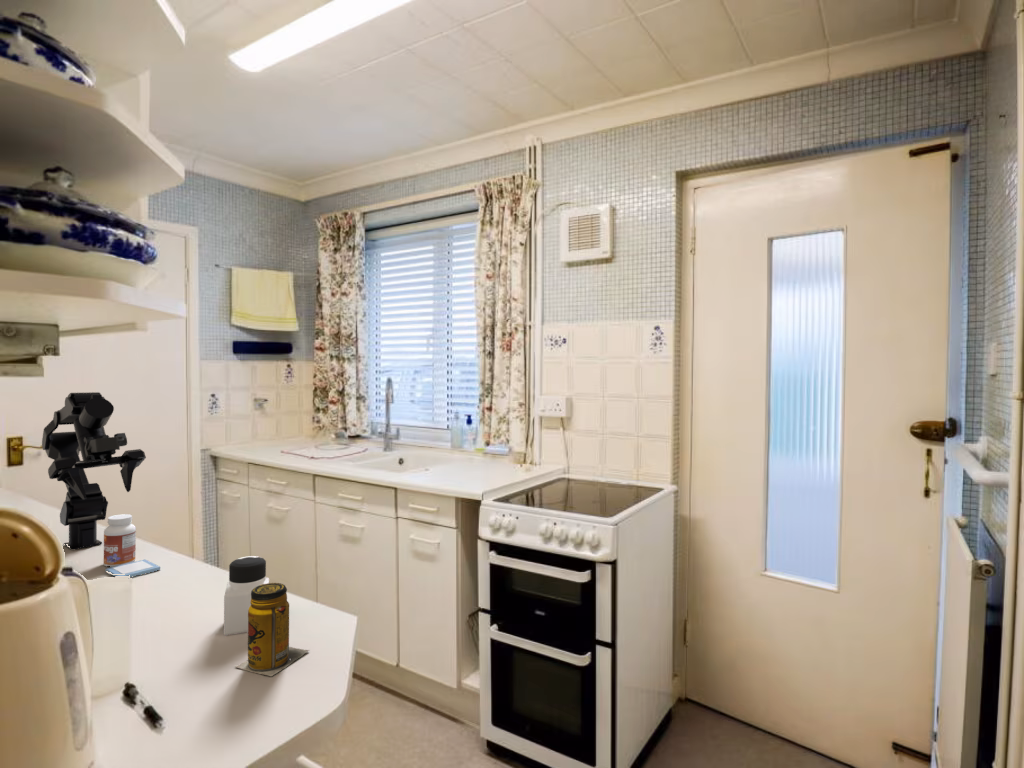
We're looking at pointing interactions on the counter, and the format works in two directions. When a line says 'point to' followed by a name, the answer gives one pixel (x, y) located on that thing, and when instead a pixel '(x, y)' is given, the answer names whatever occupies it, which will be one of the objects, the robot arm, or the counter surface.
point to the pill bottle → (119, 540)
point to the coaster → (134, 568)
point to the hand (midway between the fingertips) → (107, 494)
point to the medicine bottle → (242, 592)
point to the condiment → (269, 631)
